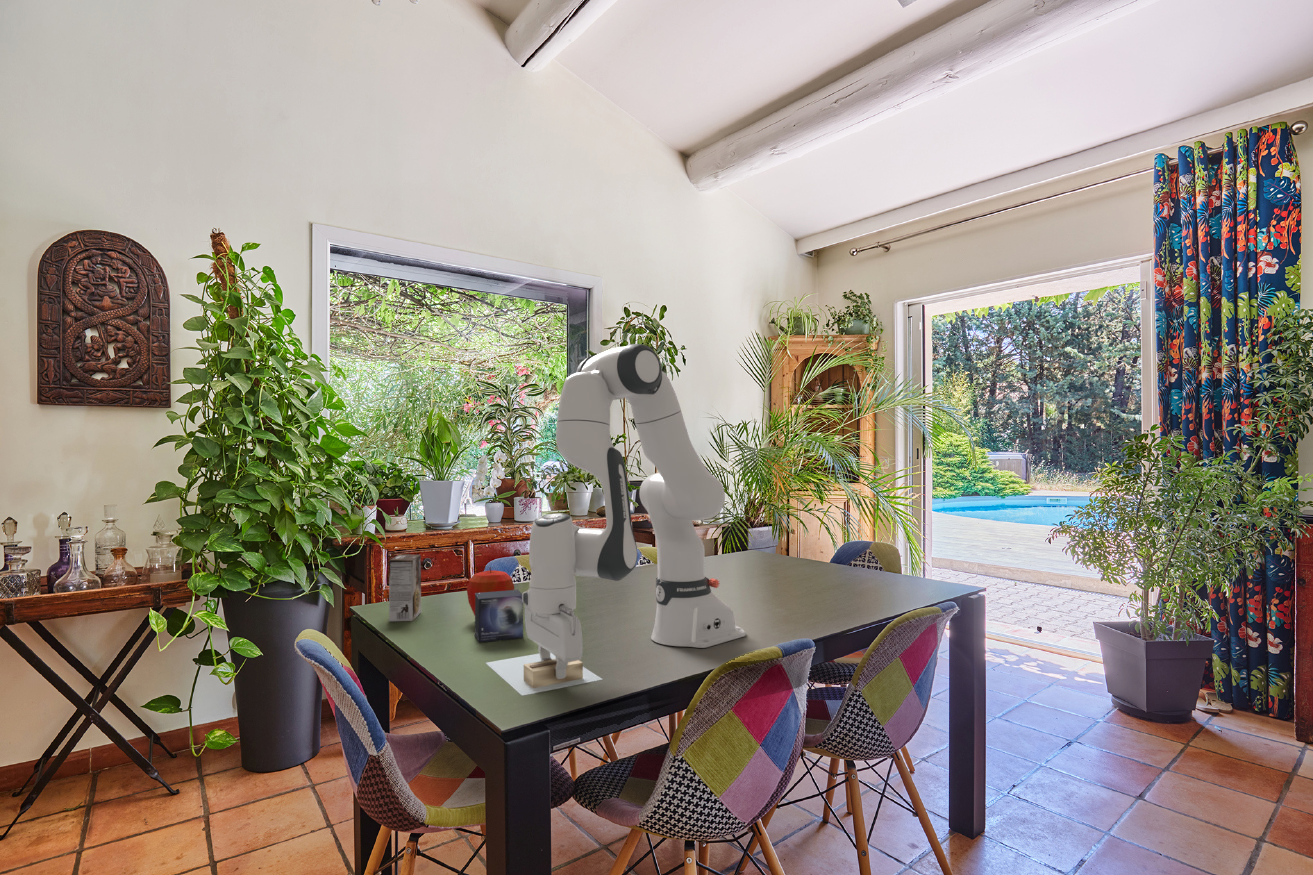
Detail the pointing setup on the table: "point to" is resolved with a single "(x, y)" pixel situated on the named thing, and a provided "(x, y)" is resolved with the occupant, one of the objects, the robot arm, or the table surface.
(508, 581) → the apple
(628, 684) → the table surface
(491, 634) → the small box
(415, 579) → the coffee box
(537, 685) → the slotted wooden box
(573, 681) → the rubber mat
